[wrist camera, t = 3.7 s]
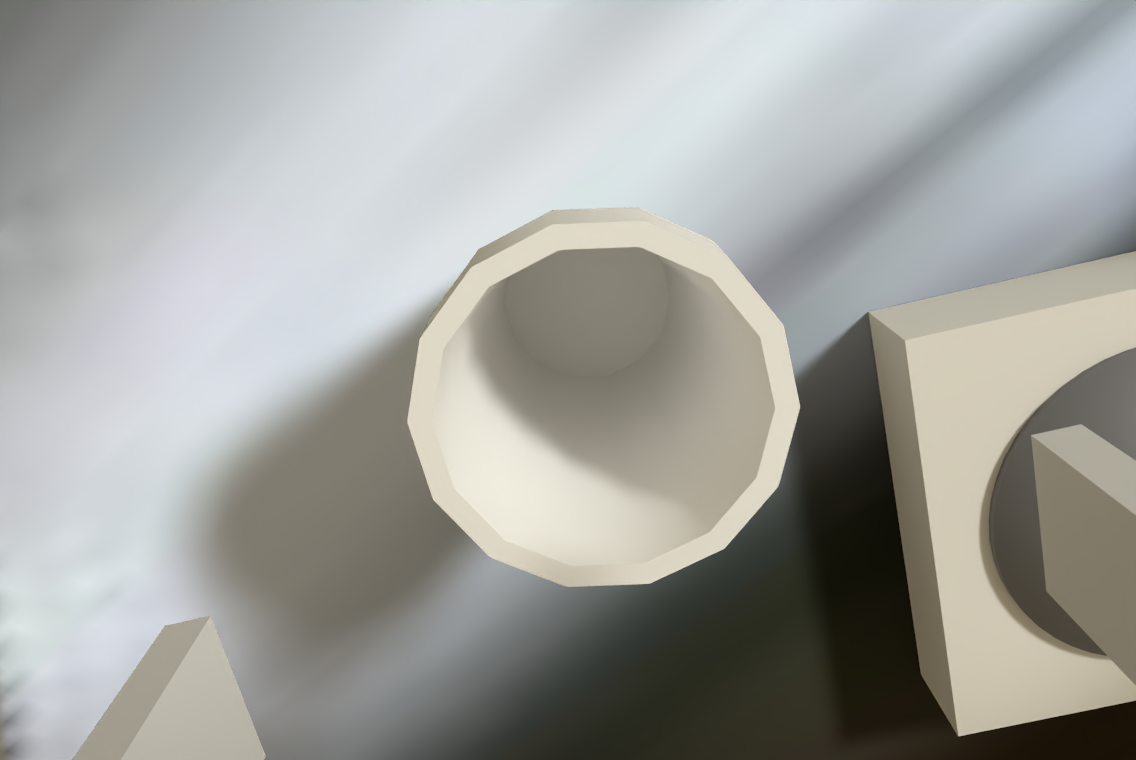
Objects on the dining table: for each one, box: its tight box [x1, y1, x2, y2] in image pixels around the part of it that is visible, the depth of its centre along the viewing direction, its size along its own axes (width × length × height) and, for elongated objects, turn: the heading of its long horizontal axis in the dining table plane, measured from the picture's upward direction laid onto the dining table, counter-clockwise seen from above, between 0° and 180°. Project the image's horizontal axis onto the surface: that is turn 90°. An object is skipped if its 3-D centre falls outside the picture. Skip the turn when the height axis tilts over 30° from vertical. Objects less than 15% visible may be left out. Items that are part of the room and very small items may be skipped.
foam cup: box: [407, 207, 800, 587], centre depth 30 cm, size 10×9×13 cm
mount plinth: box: [868, 251, 1136, 736], centre depth 36 cm, size 16×16×4 cm
